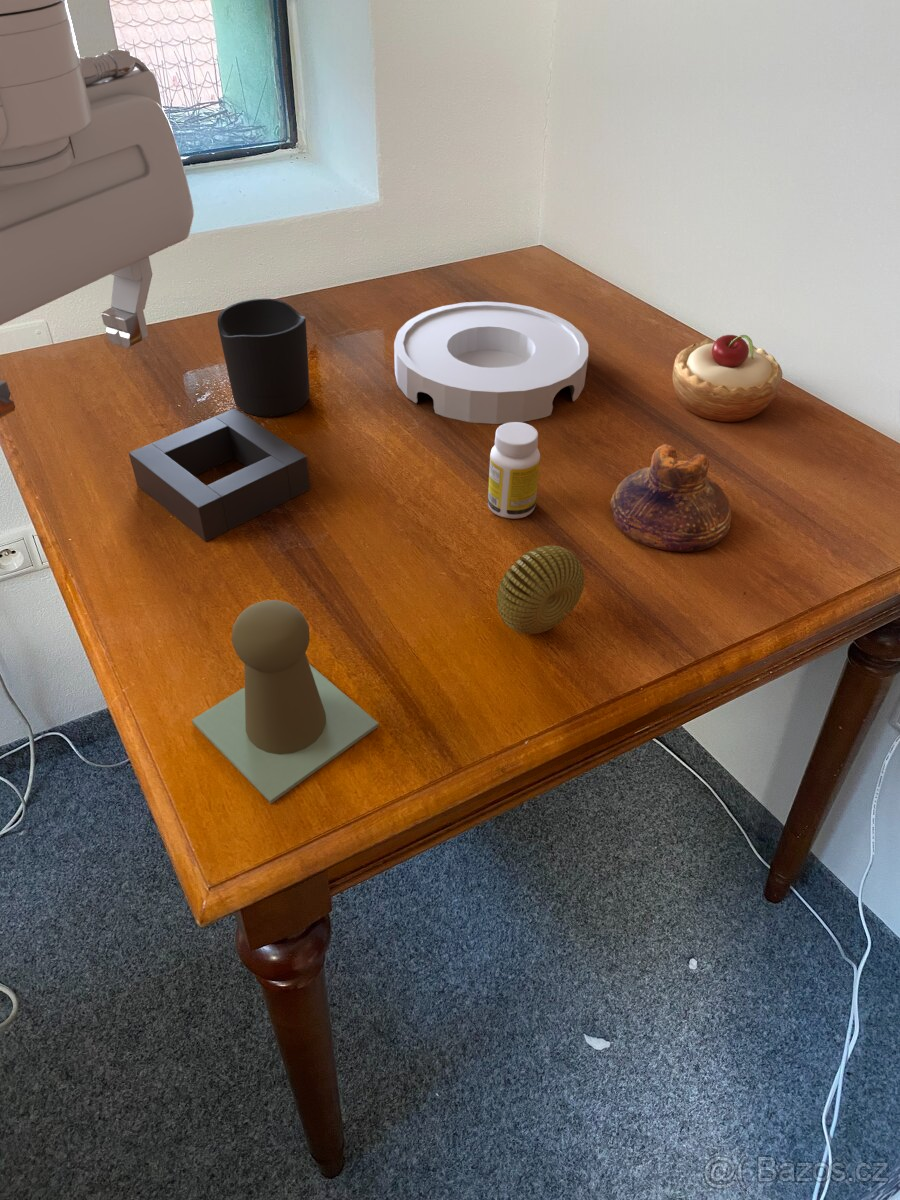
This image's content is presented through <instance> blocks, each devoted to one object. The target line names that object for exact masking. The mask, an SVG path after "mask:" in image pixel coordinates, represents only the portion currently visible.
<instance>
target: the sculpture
mask: <svg viewBox="0 0 900 1200" xmlns="http://www.w3.org/2000/svg"><path fill="white" fill-rule="evenodd" d="M499 583H500V584H499V586H498V589H497V595H496V606H497V610H498V614H499V616H500V618H501V620H502V621H503V622H504V623H505V624H506V626H507V627H509V628H510V629H512V630H513V631H515V632H517V633H521V634H525V635H536V634H540V633H544V632H546V631H549V630H551V629H553V628H555V627H556V626H557V625H560V624H561V623H562V621H564V620H565V619H567V616H570V614H571V612H573V610H574V609H575V607H576V606H577V605H578V603H579V601H580V599H581V597H582V595H583V592H584V587H585V572H584V567H583V565H582V563H581V561H580V559H579V558H578V557H577V555H576V554H575V553H574V552H572V551H570V550H569V549H568V548H565V547H563V546H560V545H550V544H549V545H542V546H539V547H535V548H533V549H531V550H529V551H527V552H526V553H524V554H522V555H520V557H519V558H516V560H515V561H514V563H512V564H511V565H510V566H509V568H508V569H507V570H506V571H505V574H504V575H503V576H502V579H501V581H500V582H499Z"/></svg>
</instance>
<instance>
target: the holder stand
mask: <svg viewBox="0 0 900 1200" xmlns="http://www.w3.org/2000/svg"><path fill="white" fill-rule="evenodd" d="M128 457H129V459H130V465H131V467H132V470H133V475H134V478H135V483H136V486H137V487H138V488H139V489H141V490H142V491H143V492H144V493H145V494H147V495H148V496H149V497H150V498H152V499H153V500H154V501H155V502H156V503H158V504H159V505H160V506H161V507H163V508H164V509H165V510H166V511H167V512H169V513H170V514H171V516H173V517H175V519H177V520H178V521H180V522H181V523H182V524H183V525H184V526H186V527H187V528H188V529H189V530H190V531H191V532H193V533H194V534H195V535H197V536H198V537H199V538H200V539H202V540H203V541H204V542H205V543H206V542H208V541H209V542H210V541H211V540H212V539H214V538H216V537H219V536H221V535H223V534H225V533H226V532H228V531H230V530H233V529H235V528H237V527H239V526H242V524H245V523H247V522H248V521H251V520H253V519H254V518H257V517H259V516H261V515H262V514H264V513H267V512H269V511H270V510H273V509H274V508H276V507H278V506H280V505H282V504H284V503H286V502H288V501H290V500H293V499H294V498H296V497H298V496H301V495H302V494H304V493H306V492H308V491H310V490H311V482H310V481H311V479H310V471H309V462H308V456H307V455H306V454H304V453H303V452H301V451H300V450H298V449H297V448H295V447H294V446H292V445H291V444H290V443H288V442H286V441H285V440H284V439H282V438H280V437H279V436H278V435H275V434H274V433H273V432H272V431H270V430H268V429H267V428H266V427H264V426H263V425H261V424H259V423H257V422H256V421H255V420H253V419H252V418H250V417H248V416H247V415H245V414H244V413H242V412H241V411H239V410H238V409H236V408H231V409H229V410H227V411H225V412H222V413H220V414H218V415H215V416H213V417H210V418H208V419H206V420H203V421H201V422H198V423H195V424H193V425H191V426H189V427H187V428H184V429H182V430H180V431H177V432H175V433H172V434H170V435H167V436H164V437H163V438H160V439H158V440H156V441H153V442H151V443H149V444H146V445H144V446H141V447H139V448H137V449H134V450H131V451H129V452H128ZM233 459H234V460H235V461H237V462H238V463H239V464H241V466H243V467H244V468H241V469H239V470H237V471H234V472H232V473H231V474H228V475H226V476H224V477H222V478H220V479H217V480H216V481H213V482H211V483H209V484H207V485H206V484H205V483H204V482H202V481H201V479H199V478H197V477H196V476H198V475H201V474H203V473H206V472H207V471H210V470H212V469H214V468H217V467H218V466H220V465H223V464H225V463H228V462H229V461H232V460H233Z"/></svg>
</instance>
